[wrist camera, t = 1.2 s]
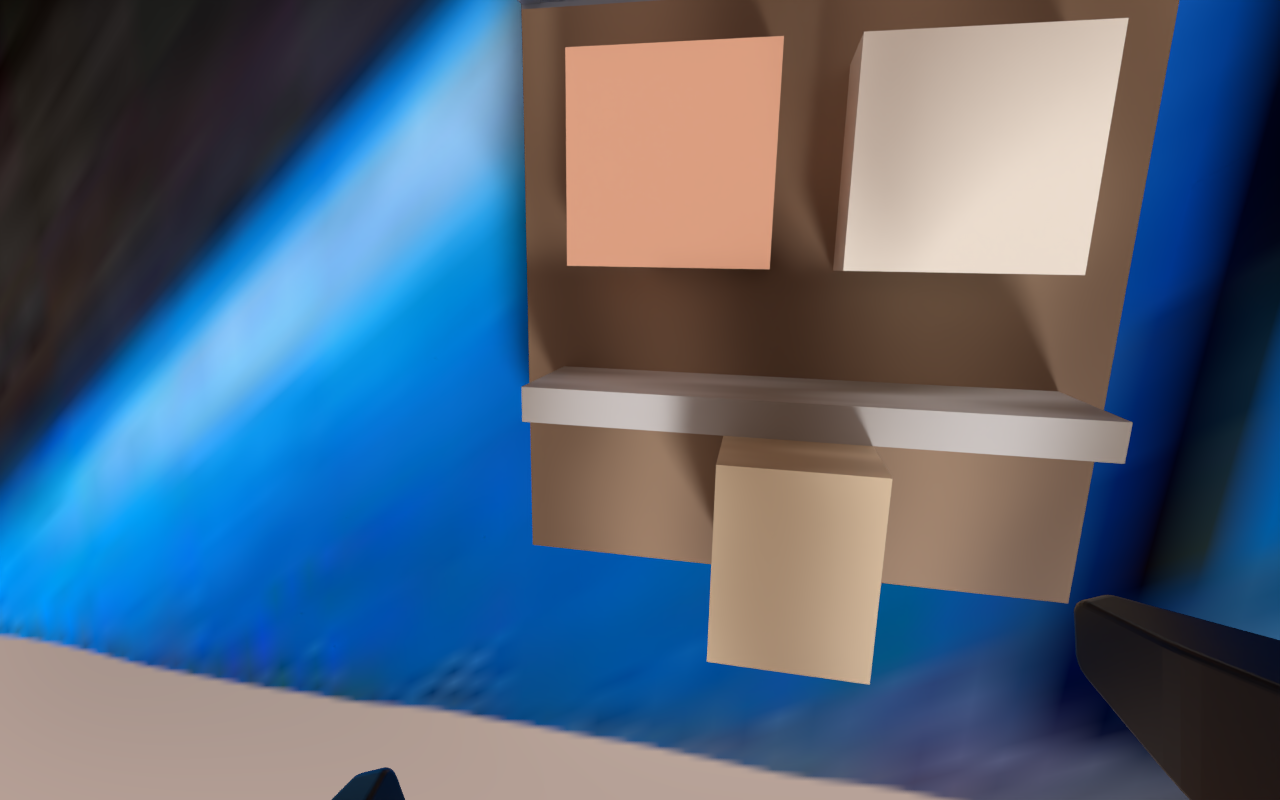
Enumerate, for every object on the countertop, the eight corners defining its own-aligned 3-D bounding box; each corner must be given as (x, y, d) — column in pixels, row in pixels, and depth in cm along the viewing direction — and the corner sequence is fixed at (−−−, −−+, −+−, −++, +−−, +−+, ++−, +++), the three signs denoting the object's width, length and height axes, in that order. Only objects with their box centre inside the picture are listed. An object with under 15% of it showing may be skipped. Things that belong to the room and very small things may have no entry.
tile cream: (1074, 55, 13) (1128, 17, 11) (1040, 274, 14) (1085, 274, 12) (850, 65, 14) (864, 31, 12) (833, 270, 15) (843, 270, 13)
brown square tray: (1066, 51, 17) (1185, -34, 12) (995, 522, 20) (1068, 603, 15) (581, 72, 20) (521, 9, 15) (582, 486, 23) (533, 544, 18)
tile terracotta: (781, 68, 14) (783, 35, 12) (769, 269, 15) (769, 269, 13) (591, 76, 15) (565, 47, 13) (591, 266, 16) (567, 265, 14)
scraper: (1058, 391, 14) (1208, 453, 9) (1026, 580, 15) (1147, 723, 10) (564, 366, 16) (481, 405, 12) (565, 532, 17) (489, 631, 13)
